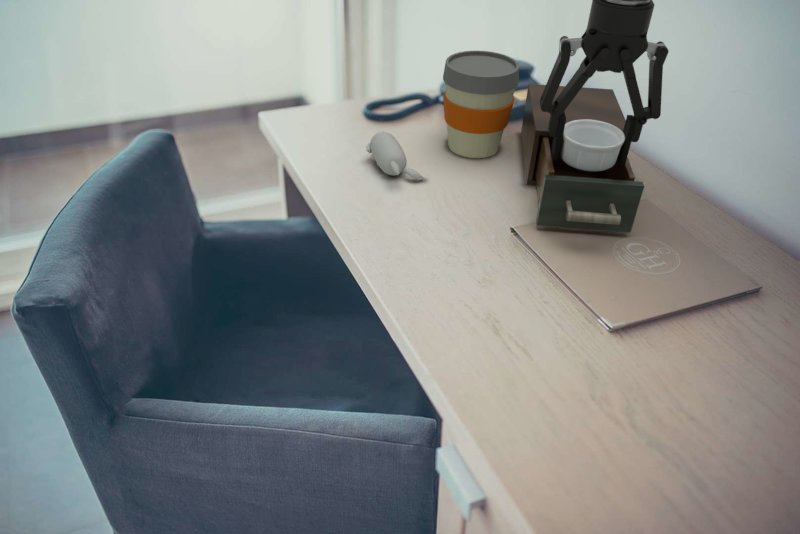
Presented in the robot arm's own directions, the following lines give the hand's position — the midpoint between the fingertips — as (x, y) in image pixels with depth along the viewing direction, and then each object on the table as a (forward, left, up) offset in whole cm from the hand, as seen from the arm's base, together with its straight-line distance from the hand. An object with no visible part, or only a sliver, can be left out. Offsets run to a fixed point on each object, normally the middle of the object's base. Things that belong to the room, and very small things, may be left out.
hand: (587, 158), depth 94 cm
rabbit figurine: (+29, -7, -9) cm, 31 cm away
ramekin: (0, 0, 0) cm, 0 cm away
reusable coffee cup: (+16, -18, -9) cm, 26 cm away
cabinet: (0, -15, -8) cm, 17 cm away
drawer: (0, +1, -8) cm, 8 cm away
